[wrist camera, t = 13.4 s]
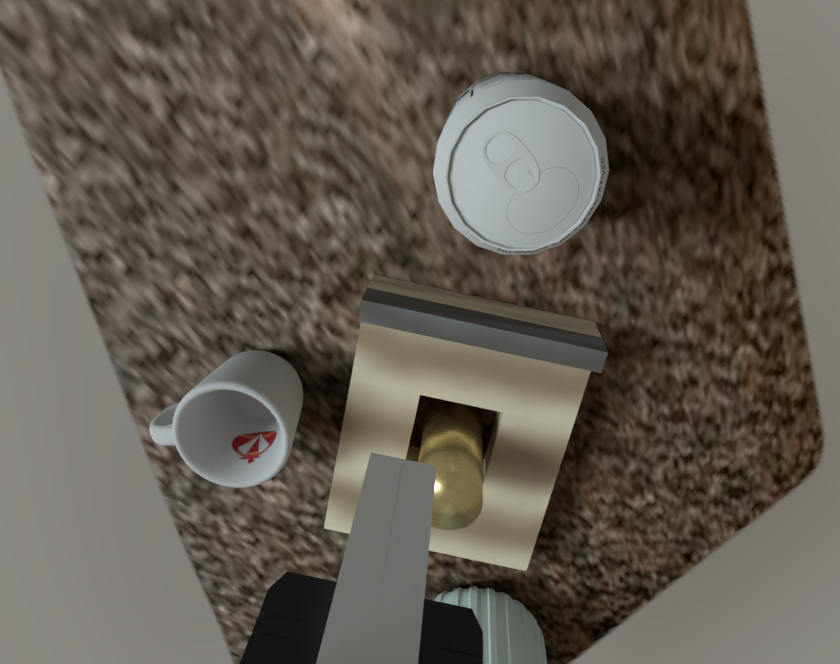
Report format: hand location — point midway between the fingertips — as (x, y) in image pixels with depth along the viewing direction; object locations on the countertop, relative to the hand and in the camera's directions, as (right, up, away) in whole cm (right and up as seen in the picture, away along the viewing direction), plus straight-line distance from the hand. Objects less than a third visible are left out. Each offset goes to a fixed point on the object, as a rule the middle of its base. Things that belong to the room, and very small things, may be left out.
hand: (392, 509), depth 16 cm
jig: (+3, -3, +38) cm, 38 cm away
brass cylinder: (+3, -3, +38) cm, 38 cm away
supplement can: (+6, +17, +30) cm, 35 cm away
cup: (-13, 0, +38) cm, 40 cm away
